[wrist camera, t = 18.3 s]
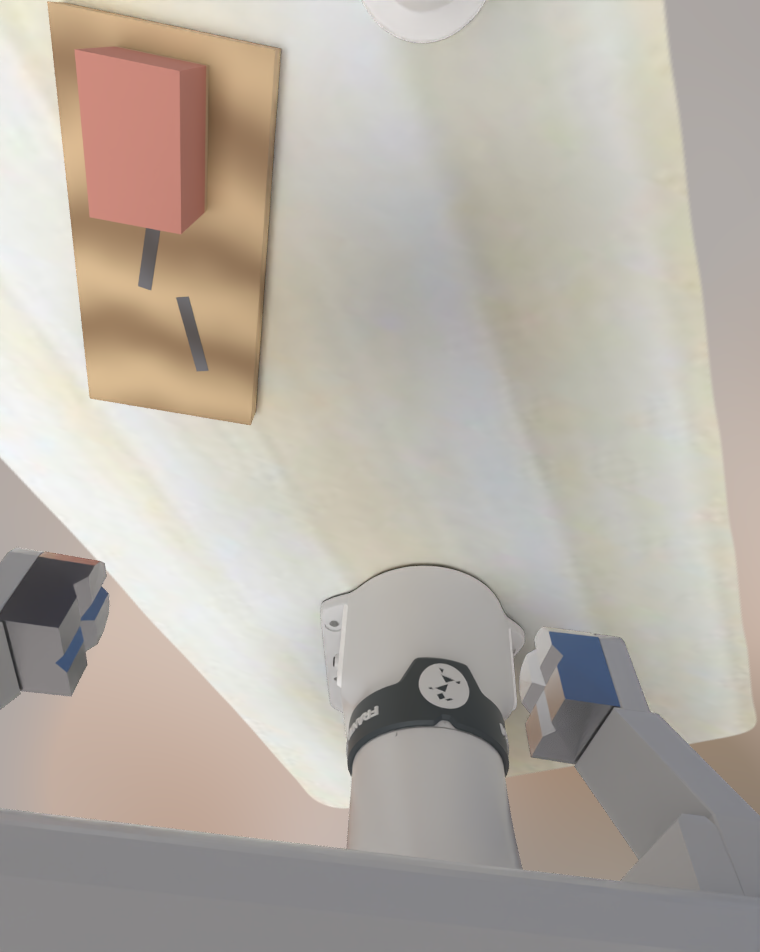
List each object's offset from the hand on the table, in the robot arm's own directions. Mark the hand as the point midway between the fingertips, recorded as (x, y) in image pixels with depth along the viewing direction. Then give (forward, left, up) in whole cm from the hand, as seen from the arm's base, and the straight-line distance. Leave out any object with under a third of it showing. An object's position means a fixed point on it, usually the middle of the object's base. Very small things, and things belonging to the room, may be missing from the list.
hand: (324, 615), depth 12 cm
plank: (-4, +12, -31) cm, 34 cm away
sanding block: (+2, +12, -29) cm, 32 cm away
